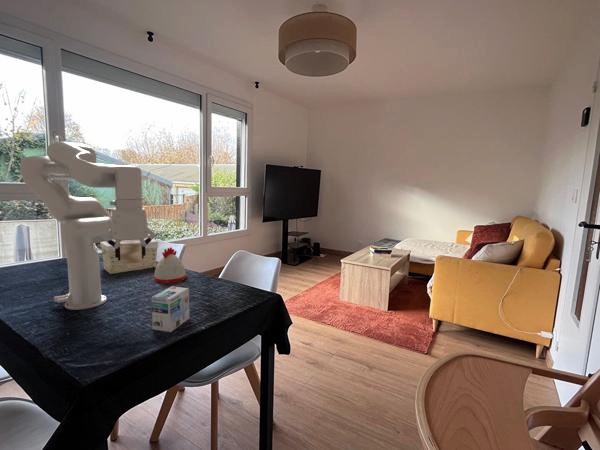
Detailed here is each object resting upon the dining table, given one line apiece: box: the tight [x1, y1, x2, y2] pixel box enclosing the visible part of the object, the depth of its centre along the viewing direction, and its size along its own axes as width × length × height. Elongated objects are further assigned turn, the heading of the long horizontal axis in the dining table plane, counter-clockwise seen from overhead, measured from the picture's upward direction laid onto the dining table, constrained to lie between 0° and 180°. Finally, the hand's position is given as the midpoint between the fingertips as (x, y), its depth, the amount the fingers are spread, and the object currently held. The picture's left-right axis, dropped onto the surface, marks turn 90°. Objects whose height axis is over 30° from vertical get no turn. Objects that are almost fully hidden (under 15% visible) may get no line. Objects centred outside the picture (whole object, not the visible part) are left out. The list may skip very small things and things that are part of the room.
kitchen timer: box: [153, 247, 187, 284], centre depth 143 cm, size 14×14×15 cm
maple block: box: [119, 241, 142, 264], centre depth 99 cm, size 6×6×6 cm
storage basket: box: [99, 237, 159, 275], centre depth 157 cm, size 24×16×15 cm
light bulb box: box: [151, 285, 190, 333], centre depth 97 cm, size 11×7×11 cm, turn 168°
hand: (130, 258), depth 100 cm, fingers closed on maple block, 6 cm apart
